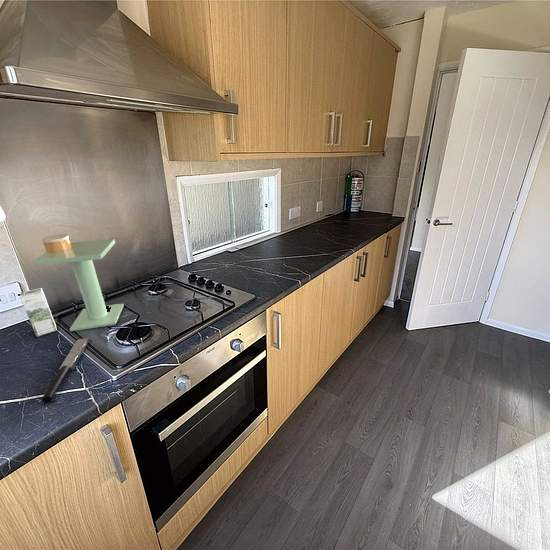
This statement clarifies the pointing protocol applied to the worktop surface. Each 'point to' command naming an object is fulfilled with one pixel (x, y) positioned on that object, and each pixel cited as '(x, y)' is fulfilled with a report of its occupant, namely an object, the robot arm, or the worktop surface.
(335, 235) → the worktop surface
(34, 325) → the syrup box
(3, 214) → the robot arm
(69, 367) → the cake knife
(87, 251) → the cake stand
